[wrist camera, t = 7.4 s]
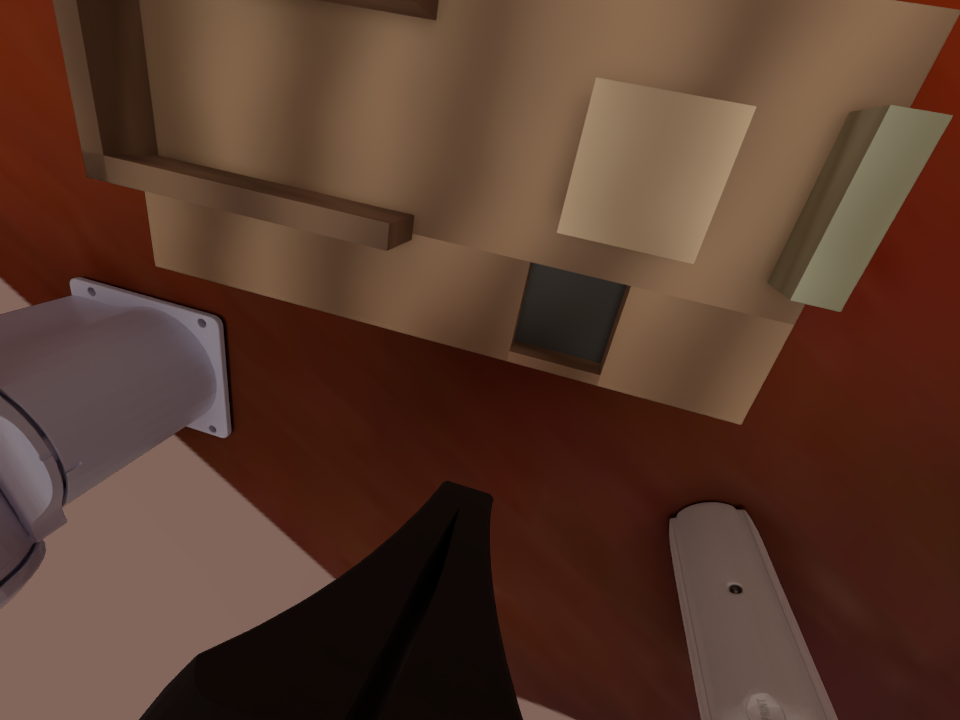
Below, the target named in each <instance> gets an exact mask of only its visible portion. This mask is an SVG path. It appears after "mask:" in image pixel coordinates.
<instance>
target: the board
mask: <svg viewBox="0 0 960 720" xmlns="http://www.w3.org/2000/svg"><path fill="white" fill-rule="evenodd" d="M139 4H140V12H141V20H142V28H143V36H144V44H145V52H146V60H147V68H148V76H149V84H150V92H151V100H152V108H153V116H154V124H155V132H156V140H157V148H158V155H159V156H163V157H168V158H172V159H176V160H181V161H185V162H189V163H193V164H198V165H202V166H206V167H211V168H215V169H219V170H223V171H228V172H232V173H236V174H241V175H245V176H249V177H253V178H258V179H262V180H266V181H271V182H275V183H279V184H283V185H288V186H292V187H296V188H300V189H305V190H309V191H313V192H318V193H322V194H326V195H330V196H335V197H339V198H343V199H348V200H352V201H356V202H360V203H365V204H369V205H373V206H378V207H382V208H386V209H390V210H395V211H399V212H403V213H408V214H412V215H415V216H414V225H413V234H412V240H410V241H408V242H406V243H404V244H401V245H399V246H397V247H395V248H393V249H390V250H388V251H385V250H381V249H376V248H372V247H368V246H364V245H360V244H356V243H352V242H348V241H344V240H340V239H336V238H332V237H328V236H324V235H320V234H316V233H312V232H308V231H304V230H299V229H295V228H291V227H287V226H283V225H279V224H275V223H271V222H267V221H263V220H259V219H255V218H251V217H247V216H243V215H239V214H235V213H231V212H227V211H222V210H218V209H214V208H210V207H206V206H202V205H198V204H194V203H190V202H186V201H182V200H178V199H174V198H170V197H166V196H162V195H158V194H154V193H150V192H145V197H146V204H147V211H148V218H149V225H150V232H151V239H152V246H153V253H154V260H155V266H157V267H161V268H165V269H168V270H172V271H176V272H179V273H183V274H187V275H190V276H194V277H198V278H202V279H205V280H209V281H213V282H216V283H220V284H224V285H227V286H231V287H235V288H238V289H242V290H246V291H250V292H253V293H257V294H261V295H264V296H268V297H272V298H275V299H279V300H283V301H286V302H290V303H294V304H297V305H301V306H305V307H309V308H312V309H316V310H320V311H323V312H327V313H331V314H334V315H338V316H342V317H345V318H349V319H353V320H357V321H360V322H364V323H368V324H371V325H375V326H379V327H382V328H386V329H390V330H393V331H397V332H401V333H405V334H408V335H412V336H416V337H419V338H423V339H427V340H430V341H434V342H438V343H441V344H445V345H449V346H452V347H456V348H460V349H464V350H467V351H471V352H475V353H478V354H482V355H486V356H489V357H493V358H497V359H500V360H504V361H508V362H512V363H515V364H519V365H523V366H526V367H530V368H534V369H537V370H541V371H545V372H548V373H552V374H556V375H560V376H563V377H567V378H571V379H574V380H578V381H582V382H585V383H589V384H593V385H596V386H600V387H604V388H607V389H611V390H615V391H619V392H622V393H626V394H630V395H633V396H637V397H641V398H644V399H648V400H652V401H655V402H659V403H663V404H667V405H670V406H674V407H678V408H681V409H685V410H689V411H692V412H696V413H700V414H703V415H707V416H711V417H715V418H718V419H722V420H726V421H729V422H733V423H737V424H740V425H741V424H742V422H743V420H744V418H745V416H746V414H747V413H748V411H749V409H750V407H751V405H752V403H753V401H754V399H755V398H756V396H757V394H758V392H759V390H760V388H761V386H762V384H763V382H764V381H765V379H766V377H767V375H768V373H769V371H770V369H771V367H772V366H773V364H774V362H775V360H776V358H777V356H778V354H779V352H780V351H781V349H782V347H783V345H784V343H785V341H786V339H787V337H788V336H789V334H790V332H791V330H792V328H793V326H794V324H795V322H796V320H797V319H798V317H799V315H800V313H801V311H802V309H803V307H804V305H805V304H808V305H813V306H817V307H821V308H826V309H830V310H834V311H838V312H841V310H842V308H843V307H844V305H845V303H846V301H847V300H848V298H849V296H850V294H851V293H852V291H853V289H854V287H855V286H856V284H857V282H858V280H859V279H860V277H861V275H862V273H863V272H864V270H865V268H866V266H867V265H868V263H869V261H870V259H871V258H872V256H873V254H874V253H875V251H876V249H877V247H878V246H879V244H880V242H881V240H882V239H883V237H884V235H885V233H886V232H887V230H888V228H889V226H890V225H891V223H892V221H893V219H894V218H895V216H896V214H897V212H898V211H899V209H900V207H901V205H902V204H903V202H904V200H905V198H906V197H907V195H908V193H909V192H910V190H911V188H912V186H913V185H914V183H915V181H916V179H917V178H918V176H919V174H920V172H921V171H922V169H923V167H924V165H925V164H926V162H927V160H928V158H929V157H930V155H931V153H932V151H933V150H934V148H935V146H936V144H937V143H938V141H939V139H940V138H941V136H942V134H943V132H944V131H945V129H946V127H947V125H948V124H949V122H950V120H951V118H952V117H953V116H952V115H947V114H941V113H935V112H929V111H924V110H918V109H912V108H910V106H911V104H912V103H913V101H914V99H915V97H916V95H917V93H918V91H919V89H920V88H921V86H922V84H923V82H924V80H925V78H926V76H927V74H928V72H929V71H930V69H931V67H932V65H933V63H934V61H935V59H936V57H937V56H938V54H939V52H940V50H941V48H942V46H943V44H944V42H945V41H946V39H947V37H948V35H949V33H950V31H951V29H952V27H953V26H954V24H955V22H956V20H957V18H958V16H959V14H960V10H957V9H950V8H943V7H936V6H929V5H922V4H915V3H908V2H902V1H895V0H439V2H438V11H437V20H430V19H424V18H418V17H412V16H407V15H401V14H395V13H389V12H383V11H378V10H372V9H366V8H360V7H354V6H349V5H343V4H337V3H331V2H325V1H319V0H139ZM596 77H597V78H602V79H608V80H613V81H619V82H624V83H630V84H635V85H641V86H646V87H652V88H657V89H663V90H668V91H674V92H680V93H685V94H691V95H696V96H702V97H707V98H713V99H718V100H724V101H729V102H735V103H740V104H746V105H751V106H757V107H756V109H755V112H754V114H753V117H752V119H751V122H750V124H749V127H748V129H747V132H746V134H745V137H744V139H743V142H742V145H741V147H740V150H739V152H738V155H737V157H736V160H735V162H734V165H733V167H732V170H731V172H730V175H729V177H728V180H727V182H726V185H725V187H724V190H723V192H722V195H721V197H720V200H719V202H718V205H717V207H716V210H715V212H714V215H713V217H712V220H711V222H710V225H709V227H708V230H707V232H706V235H705V237H704V240H703V242H702V245H701V247H700V250H699V252H698V255H697V257H696V260H695V262H694V264H691V263H686V262H682V261H678V260H673V259H669V258H665V257H660V256H656V255H652V254H647V253H643V252H638V251H634V250H630V249H625V248H621V247H617V246H612V245H608V244H604V243H599V242H595V241H591V240H586V239H582V238H577V237H573V236H569V235H564V234H560V233H557V230H558V226H559V222H560V218H561V214H562V210H563V206H564V202H565V198H566V194H567V190H568V186H569V182H570V178H571V174H572V170H573V167H574V163H575V159H576V155H577V151H578V147H579V143H580V139H581V135H582V131H583V127H584V123H585V119H586V115H587V111H588V107H589V103H590V99H591V96H592V92H593V88H594V84H595V80H596Z"/></svg>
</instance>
